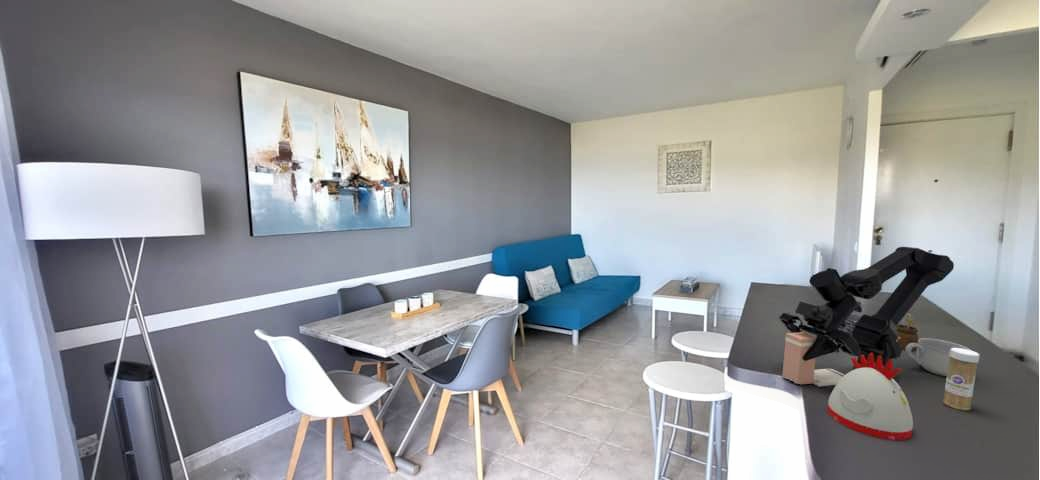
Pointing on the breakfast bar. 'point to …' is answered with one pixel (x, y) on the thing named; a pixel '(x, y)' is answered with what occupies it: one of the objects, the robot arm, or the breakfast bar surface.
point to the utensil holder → (907, 334)
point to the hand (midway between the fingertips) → (795, 355)
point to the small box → (850, 325)
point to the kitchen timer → (872, 401)
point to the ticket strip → (827, 377)
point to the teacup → (933, 354)
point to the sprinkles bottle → (960, 378)
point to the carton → (798, 358)
